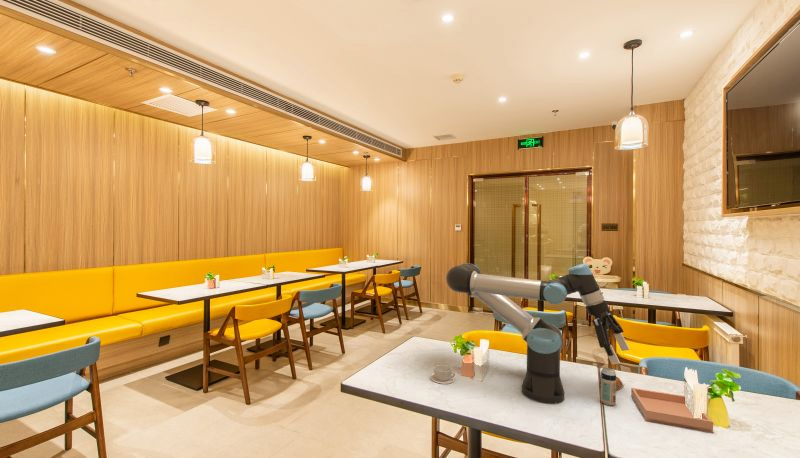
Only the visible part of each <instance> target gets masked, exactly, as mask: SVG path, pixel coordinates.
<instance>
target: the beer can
mask: <svg viewBox="0 0 800 458" xmlns="http://www.w3.org/2000/svg"><path fill="white" fill-rule="evenodd" d="M616 376H617V373H616V370H615V369H613V368H609V367H602V369H601V371H600V402H601V403H603V404H604V405H606V406H609V407H613V406H615V405H616V404H617V403H616V401H617V400H616V399H617V390H616Z"/></svg>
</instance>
